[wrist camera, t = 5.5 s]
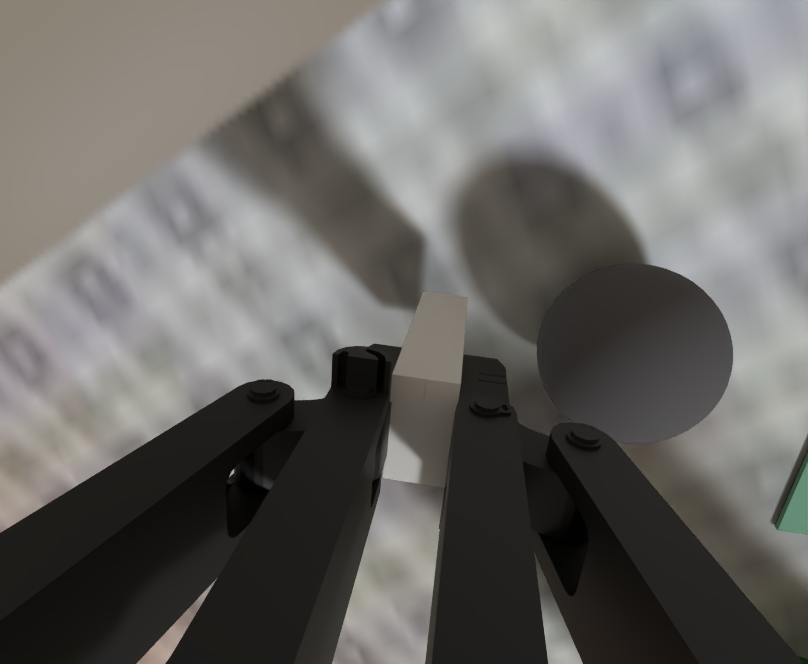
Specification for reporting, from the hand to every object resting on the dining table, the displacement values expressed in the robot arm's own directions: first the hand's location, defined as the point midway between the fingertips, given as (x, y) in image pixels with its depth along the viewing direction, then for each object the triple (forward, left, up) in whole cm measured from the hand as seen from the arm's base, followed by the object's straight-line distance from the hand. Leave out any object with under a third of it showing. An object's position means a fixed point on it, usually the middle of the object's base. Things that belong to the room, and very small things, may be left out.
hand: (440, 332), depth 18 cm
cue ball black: (+6, 0, +1) cm, 6 cm away
